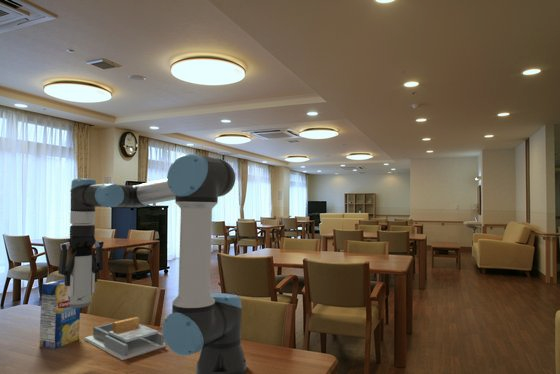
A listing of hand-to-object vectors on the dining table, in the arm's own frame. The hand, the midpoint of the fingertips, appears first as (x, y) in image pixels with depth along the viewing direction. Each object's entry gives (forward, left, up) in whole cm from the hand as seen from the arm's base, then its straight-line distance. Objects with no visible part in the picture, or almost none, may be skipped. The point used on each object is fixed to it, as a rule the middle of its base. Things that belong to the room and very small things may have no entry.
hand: (80, 293), depth 128 cm
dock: (0, -16, -21) cm, 26 cm away
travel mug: (0, 0, -4) cm, 4 cm away
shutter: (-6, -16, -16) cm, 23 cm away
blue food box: (+18, -1, -21) cm, 28 cm away
